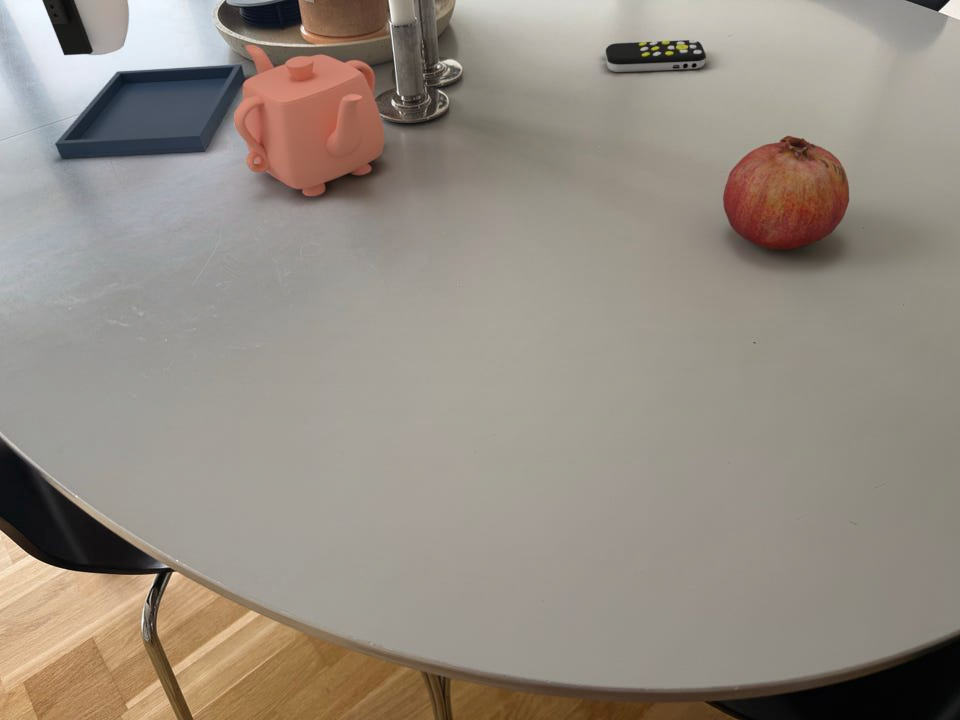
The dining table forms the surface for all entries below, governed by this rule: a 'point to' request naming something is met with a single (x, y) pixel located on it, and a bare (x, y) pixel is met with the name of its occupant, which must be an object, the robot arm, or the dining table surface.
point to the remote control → (655, 56)
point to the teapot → (309, 120)
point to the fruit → (786, 194)
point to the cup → (104, 23)
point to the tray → (153, 112)
